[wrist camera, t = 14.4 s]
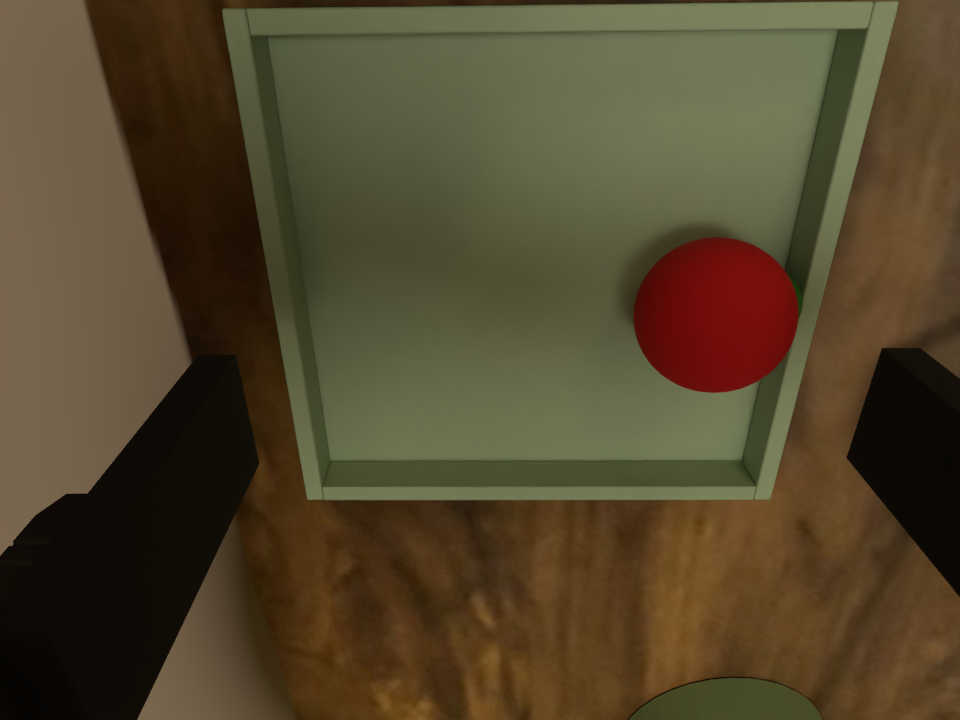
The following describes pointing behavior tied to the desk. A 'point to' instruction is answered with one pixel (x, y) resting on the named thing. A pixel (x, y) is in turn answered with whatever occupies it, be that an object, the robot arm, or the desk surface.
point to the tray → (537, 230)
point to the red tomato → (716, 314)
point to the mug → (729, 702)
